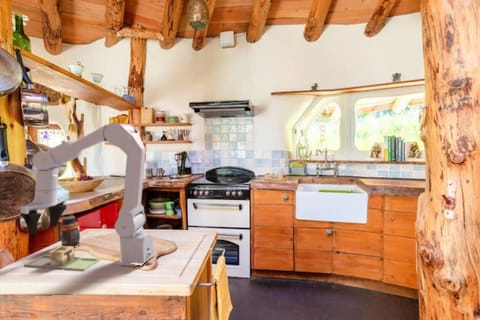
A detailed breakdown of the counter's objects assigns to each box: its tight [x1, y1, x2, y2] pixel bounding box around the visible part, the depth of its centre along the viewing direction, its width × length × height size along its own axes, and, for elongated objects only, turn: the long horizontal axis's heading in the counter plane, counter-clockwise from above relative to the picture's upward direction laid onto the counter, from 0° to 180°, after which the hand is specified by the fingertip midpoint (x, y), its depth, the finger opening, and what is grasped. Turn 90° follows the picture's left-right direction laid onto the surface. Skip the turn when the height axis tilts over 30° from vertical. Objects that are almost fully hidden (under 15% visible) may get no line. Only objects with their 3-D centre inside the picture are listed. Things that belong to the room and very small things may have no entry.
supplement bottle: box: [59, 215, 82, 247], centre depth 100 cm, size 6×6×11 cm
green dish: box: [64, 257, 102, 272], centre depth 85 cm, size 7×7×1 cm
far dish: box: [23, 254, 50, 269], centre depth 88 cm, size 7×7×1 cm
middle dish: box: [43, 256, 82, 270], centre depth 87 cm, size 7×7×1 cm
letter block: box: [48, 245, 76, 266], centre depth 87 cm, size 5×5×5 cm
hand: (43, 229), depth 88 cm, fingers open, 7 cm apart
